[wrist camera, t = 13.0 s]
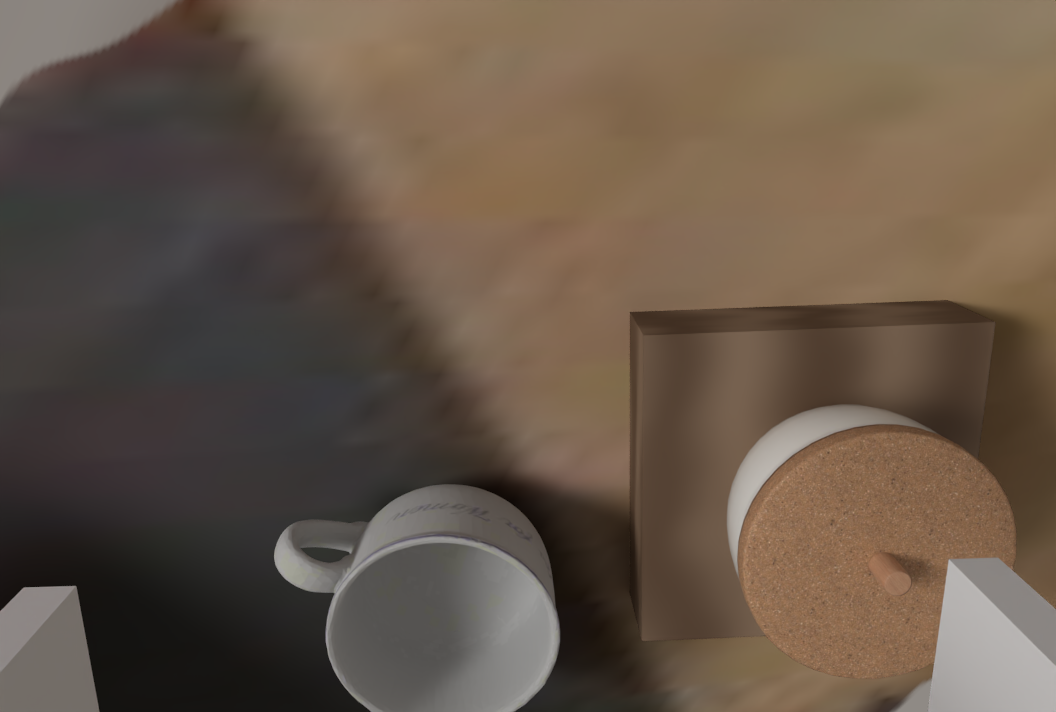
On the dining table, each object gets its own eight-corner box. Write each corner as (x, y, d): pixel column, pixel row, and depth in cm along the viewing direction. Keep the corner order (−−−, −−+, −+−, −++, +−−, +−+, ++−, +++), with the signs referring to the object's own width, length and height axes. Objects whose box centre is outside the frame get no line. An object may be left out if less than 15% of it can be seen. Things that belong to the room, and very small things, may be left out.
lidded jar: (844, 327, 39) (942, 388, 30) (970, 494, 41) (1098, 600, 32) (656, 468, 40) (695, 568, 31) (787, 621, 43) (859, 755, 34)
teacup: (592, 537, 46) (608, 624, 39) (470, 672, 49) (463, 779, 41) (383, 387, 44) (356, 448, 36) (264, 538, 46) (215, 625, 38)
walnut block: (628, 587, 48) (641, 641, 43) (628, 309, 43) (643, 335, 38) (911, 575, 48) (956, 627, 43) (941, 297, 43) (995, 322, 39)
